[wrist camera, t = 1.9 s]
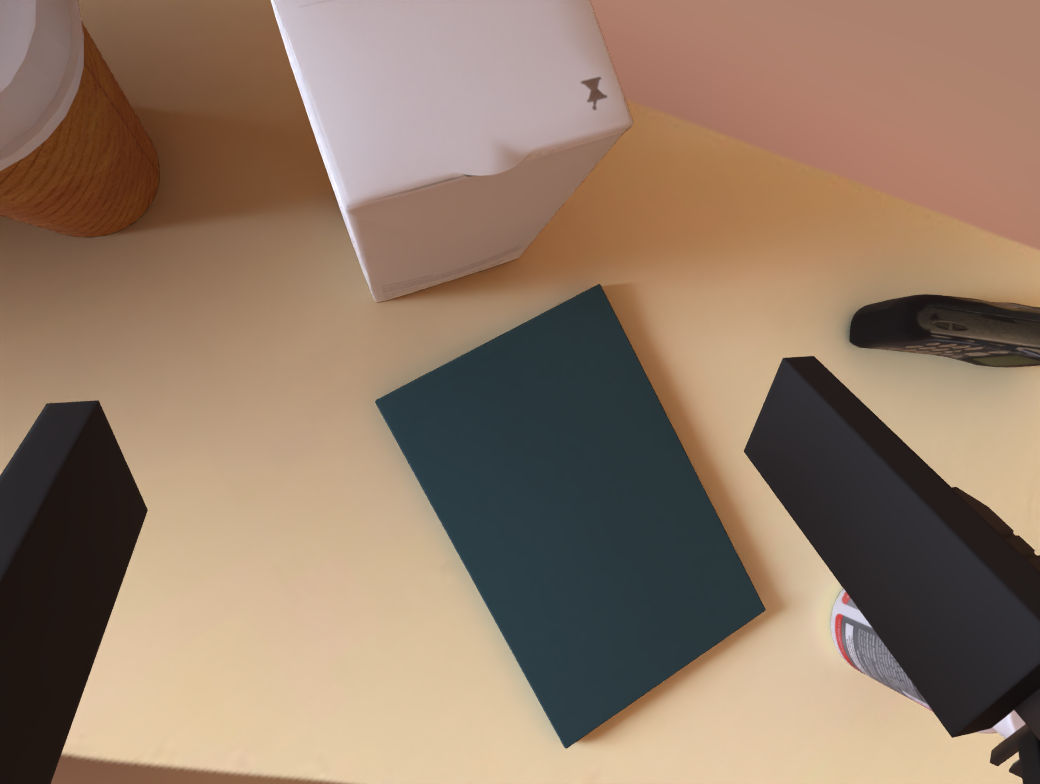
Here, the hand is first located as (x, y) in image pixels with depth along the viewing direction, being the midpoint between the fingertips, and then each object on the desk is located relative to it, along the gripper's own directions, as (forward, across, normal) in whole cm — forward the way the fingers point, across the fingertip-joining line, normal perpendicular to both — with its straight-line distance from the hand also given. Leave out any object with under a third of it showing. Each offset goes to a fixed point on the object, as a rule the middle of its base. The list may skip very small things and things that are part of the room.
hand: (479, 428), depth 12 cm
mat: (+11, +8, -16) cm, 20 cm away
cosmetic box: (+20, +1, -4) cm, 21 cm away
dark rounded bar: (+16, +32, -10) cm, 37 cm away
